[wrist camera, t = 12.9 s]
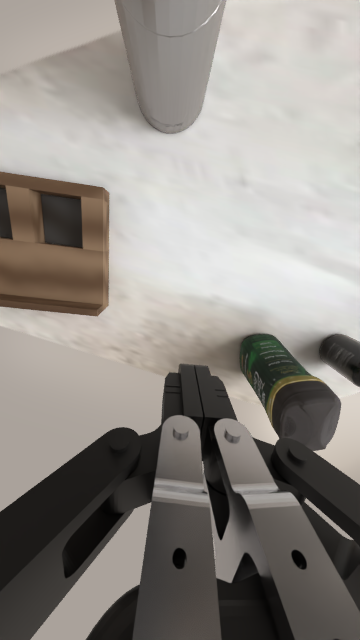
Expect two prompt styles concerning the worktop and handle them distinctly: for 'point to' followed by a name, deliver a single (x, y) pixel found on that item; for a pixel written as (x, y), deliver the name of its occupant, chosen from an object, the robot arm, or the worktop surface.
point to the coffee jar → (289, 392)
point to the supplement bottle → (342, 356)
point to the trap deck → (53, 245)
